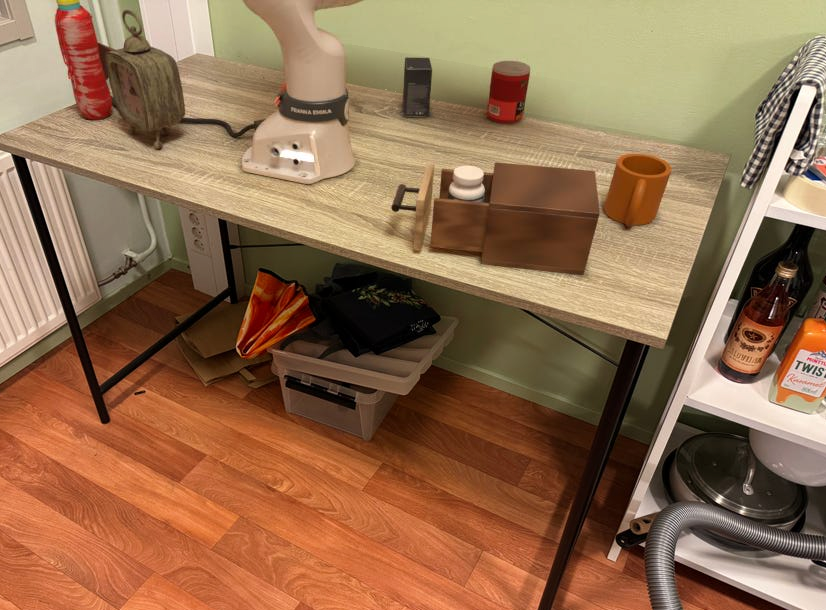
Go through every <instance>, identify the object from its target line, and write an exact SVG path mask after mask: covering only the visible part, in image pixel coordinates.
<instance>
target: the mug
mask: <svg viewBox="0 0 826 610" xmlns="http://www.w3.org/2000/svg"><path fill="white" fill-rule="evenodd" d="M672 169H673V168H672V166H671V165H670V163H668V162H667V161H665V160H664V159H662V158H660V157H658V156H654V155H651V154H644V153H627V154H624V155H620V156H619V157H618V158H617V160H616V163H615V167H614V170H613V173H612V177H611V180H610V183H609V187H608V191H607V195H606V197H605V202H604V205H603V212H604V214H605V215H606V216H607V217H609V218H610V219H612V220H614V221H615V222H618V223H621V224H625V226H626V227H630V228H631V227H632V226H643V225H648V224H650V223H652V222H653V221H654V220H656V218H657V214H658V212H659V208H660V205H661V203H662V200H663V197H664V194H665V191H666V187H667V186H668V182H669V180H670V176H671V174H672Z"/></svg>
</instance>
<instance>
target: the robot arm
mask: <svg viewBox="0 0 826 610" xmlns="http://www.w3.org/2000/svg"><path fill="white" fill-rule="evenodd" d="M241 1H242V3H243V5H245V7H246V8H247V9H248V10H249V11H250V12H251V13H253V14H254V15H255V16H258V17H259V19H261V20H263V21H264V23H266V25H268V27H269V28H270V29H271V31H272V32H273V34H274V35H275V38H276V39H277V42H278V44H279V47H280V51H281V53H282V54H281V55H282V61H283V67H284V68H283V69H284V76H285V83H283V84H282V86H281V87H280V89H279V92H278V93H277V95H276V99H275V101H274V102H275V107H276V108H277V110H275V111H274V112H273V113H272V114H271V115H269V116H268V117H266V118H263V119H258V120H253V122H252V123H251V124H248V125H246V126H244V127H243V128H242V129H240V130H239V131H238V132H234V131H233V128H232V127H231V125H230V124H229V123H228V122H227V121H225V120H222V119H217V118H201V117H200V118H198V117H197V118H196V117H183V118H182V120H181V121H180V122H179V123H188V124H189V123H192V124H215V125H220V126H223V127H225V129H226V130H227V132H228V134H229V135H230V136H231V137H232V138H240V137H242V136H243V135H245V134H246V133H247V132H248V131H250V130H254V131H253V132H254V134H253V136H252V141H251V145H250V146H249V147H248V148H247V150H246V151H245V152H244V153H243V155H242V158H241V169H242V171H243V172H246V173H250V174H255V175H259V176H264V177H268V178H269V177H270V178H274V179H280V180H284V181H291V182H293V183H300V184H304V185H305V184H306V185H312V184H315V183H318V182H319V181H320V182H321V181H322V180H325V179H331V178H335V177H339V176H341V175H343V174H345V173H347V172H349V171H350V170H352V169H353V168H354V166H355V165H356V157H355V155H354V152H353V147H352V143H351V137H350V131H349V120H350V98H349V89H348V88H347V66H346V65H347V63H346V58H347V57H346V50H345V46H344V44H343V43H342V41H341V40H340V39H339V38H338V37H337V36H336V35H335V34H333V33H331V32H329V31H327V30H325V29H322V28H319V27H317V24H316V21H315V20H316V19H315V12H317V11H321V10H328V9H335V8H341V7H349V6H353V5H357V4H358V3H361V2H363V1H365V0H241ZM111 99H112V106H113V107H115V108H116V109H117V107H116V104H115V101H114V97H113V95H111Z"/></svg>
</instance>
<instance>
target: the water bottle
mask: <svg viewBox="0 0 826 610" xmlns="http://www.w3.org/2000/svg"><path fill="white" fill-rule="evenodd" d="M55 1H56V4H57V8H56V11H55V14H54V25H55V31H56V36H57V40H58V45H59V49H60V52H61V56H62V60H63V63H64V64H65V66H66V67H67V76H68V80H70V83H71V88H72V92H73V93H72V94H73V97H74V100H75V104H76V107H77V109H78V111H79V112H80V114H81V115H82V116H83V117H84V118H86V120H93V121H98V120H103V119H106V118H108V117H109V116H110V115H111V113H112V108H113V104H112V99H111V96H112V95H111V91H110V87H109V84H108V81H109V77H108V72H107V68H106V61H105V53H106V52H110V51H114V50H116V49H115V48H112V47H110V46H107V45H106V44H103V43H100V42H98V37H97V33H96V30H95V24H94V21H93V14H92V13H91V12H90V11H88V10H87V9H86V8H84V6H83V5H82V4H81V2H80V0H55Z"/></svg>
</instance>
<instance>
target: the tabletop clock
mask: <svg viewBox="0 0 826 610" xmlns="http://www.w3.org/2000/svg"><path fill="white" fill-rule="evenodd" d="M127 14H128V15H129V16H132V17H133V18H134V19H135V21H136V22H137V24H138V26H139V27H138V28H139V30H138V31H137V27H136V26H135V25H132V26H129V25H128V24H127V22H126V15H127ZM121 17H122V18H121V19H122V23H123V25H124V27H125V28H126V30H127V31H128V32H129V33H130V34H131V35H130V36H128V37H126V38H125V40H124V41H123V47H122V48H119V49H115V50H114V51H110V52H106V53H105V61H106V68H107V72H108V77H109V78H108V81H109V86H110V89H111V93H112V97H113V99H114V101H115V104H116V107H117V108H116V107H115V108H116V109H117V112H118V115H119V116H120V117H121V118H122V120H124V121H125V122H126V123H127V124H128V125H130V126H129V127H128V132H129V133H130V134H136V133H137V131H140V132H143V133H144V134H145V133H150V132H153V131H154V133H155V141H154V143H153V147H154V148H155V149H157V150H161V149H162V148H163V144H162V142H161V141H160V134H161V135H162V136H167V135H168V134H169V129H168V128H167V127H168V126H171V125H172V126H173V125H175V124H178V123H181V122H180V121H181V120H182V118H185V116H186V104H185V98H184V91H183V86H182V80H181V75H180V69H179V67H178V64H177V61H176V59H175V58H174V57H173V56H172V55H170V54H169V53H167V52H165V51H163V50H162V49H158V48H157V47H153V46H151V45H150V42H149V41H148V40H147V38H145V36H143V35H142V33H143V26H142V22H141V20H140V18H139V16H138V15H137V14H136V13H135V12H133V11H132V10H130V9H124V10H123V11H122V14H121Z"/></svg>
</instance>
